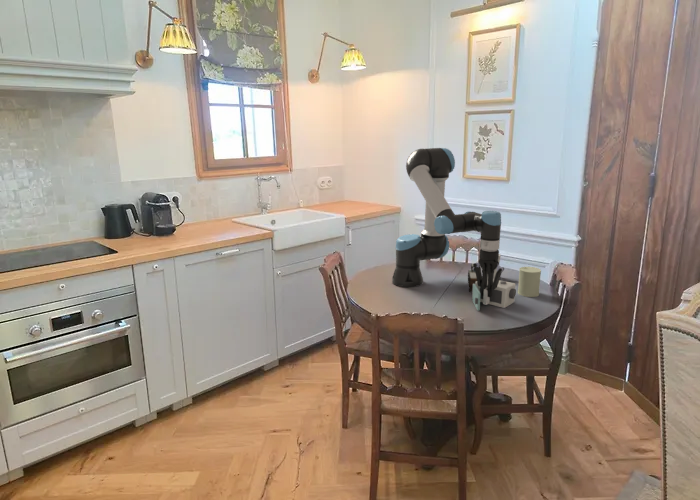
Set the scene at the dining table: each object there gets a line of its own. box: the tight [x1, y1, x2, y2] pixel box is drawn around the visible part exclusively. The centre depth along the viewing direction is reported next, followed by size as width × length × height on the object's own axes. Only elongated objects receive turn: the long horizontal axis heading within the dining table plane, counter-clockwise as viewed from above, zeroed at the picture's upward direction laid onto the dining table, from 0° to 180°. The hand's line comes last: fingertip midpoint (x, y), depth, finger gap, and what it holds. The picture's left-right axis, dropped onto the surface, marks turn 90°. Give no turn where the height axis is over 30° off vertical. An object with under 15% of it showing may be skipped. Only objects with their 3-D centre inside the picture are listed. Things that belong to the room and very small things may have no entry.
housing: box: [475, 279, 517, 309], centre depth 198 cm, size 15×9×9 cm, turn 46°
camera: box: [467, 263, 477, 293], centre depth 216 cm, size 15×8×10 cm, turn 166°
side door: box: [471, 284, 481, 311], centre depth 194 cm, size 12×2×8 cm, turn 176°
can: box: [517, 266, 542, 298], centre depth 206 cm, size 9×9×12 cm
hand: (486, 303), depth 192 cm, fingers closed
